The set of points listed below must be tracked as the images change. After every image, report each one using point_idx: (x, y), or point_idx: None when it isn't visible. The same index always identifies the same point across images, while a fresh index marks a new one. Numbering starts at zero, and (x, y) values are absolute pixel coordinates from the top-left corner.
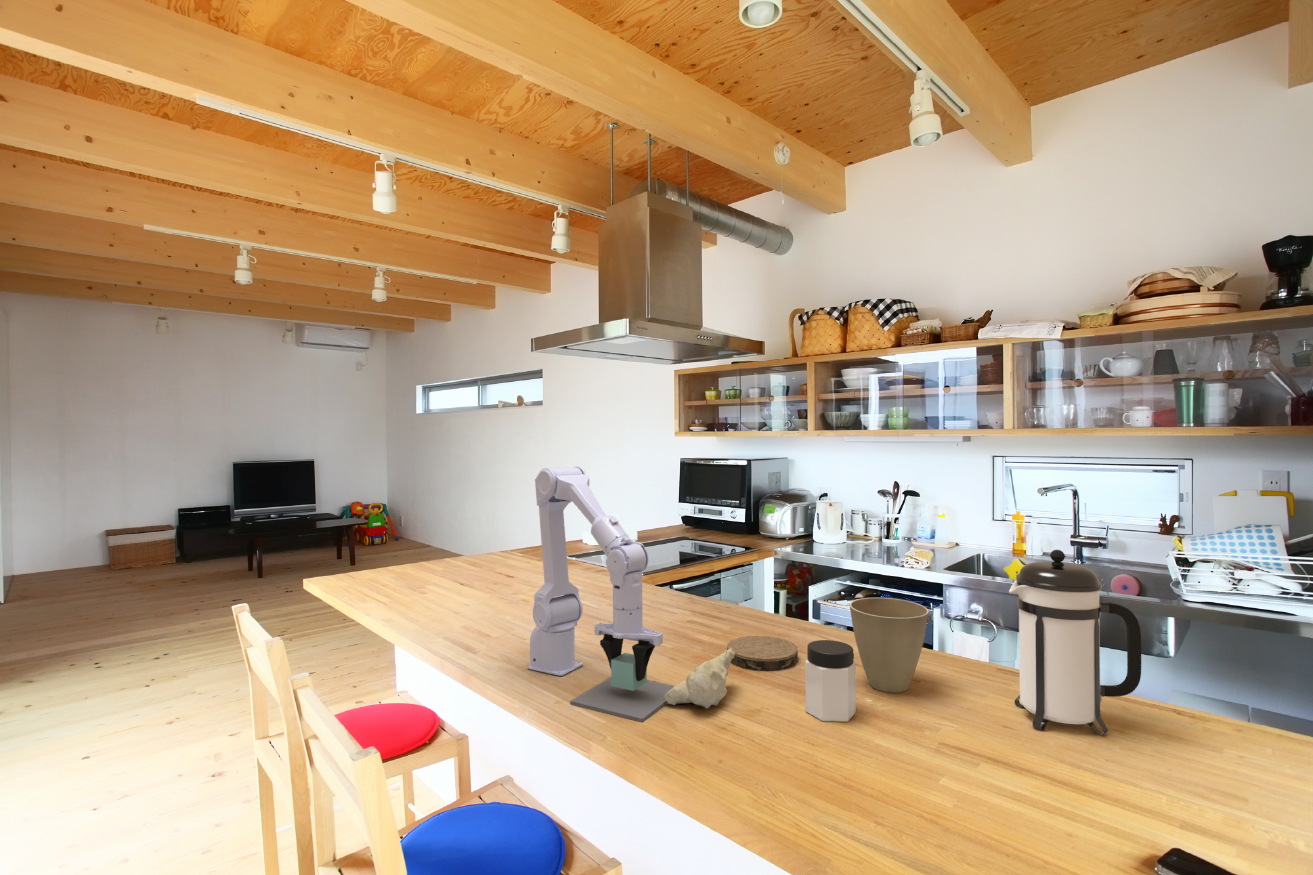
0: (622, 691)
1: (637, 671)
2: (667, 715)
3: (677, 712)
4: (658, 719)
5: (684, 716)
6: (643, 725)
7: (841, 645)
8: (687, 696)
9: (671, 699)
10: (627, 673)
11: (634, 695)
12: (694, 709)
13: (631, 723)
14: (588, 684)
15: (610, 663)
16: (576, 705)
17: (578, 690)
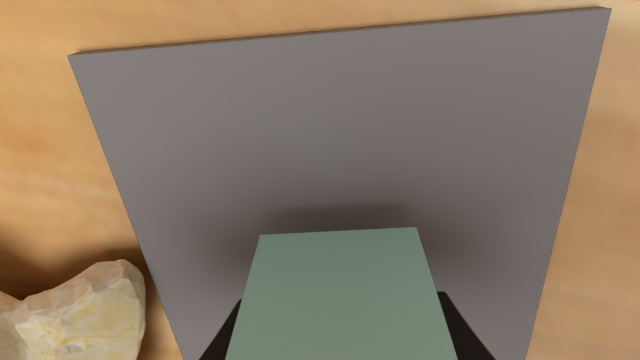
0: None
1: (223, 343)
2: (62, 181)
3: (59, 225)
4: (54, 126)
5: (5, 209)
6: (44, 23)
7: None
8: (16, 307)
9: (89, 271)
10: (289, 305)
11: None
12: (37, 276)
13: (109, 4)
14: (607, 258)
15: (474, 352)
16: (545, 12)
17: (630, 183)
